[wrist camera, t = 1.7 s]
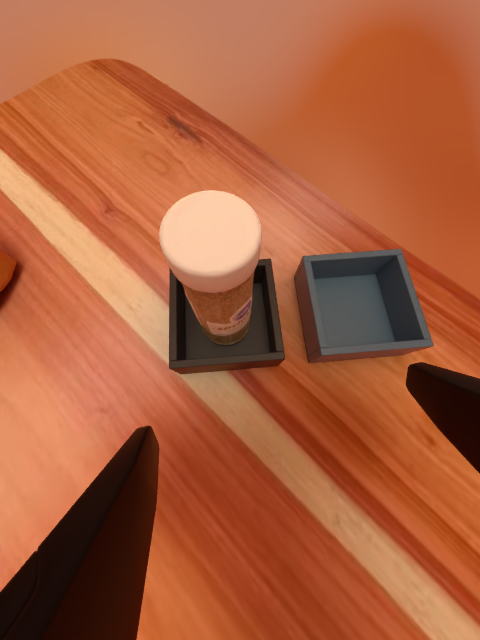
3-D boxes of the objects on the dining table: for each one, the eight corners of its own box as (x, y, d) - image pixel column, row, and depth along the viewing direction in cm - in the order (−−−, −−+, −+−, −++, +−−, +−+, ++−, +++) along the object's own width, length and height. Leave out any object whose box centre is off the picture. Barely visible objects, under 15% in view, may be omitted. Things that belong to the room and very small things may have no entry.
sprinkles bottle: (236, 354, 22) (233, 291, 10) (192, 333, 23) (134, 247, 10) (258, 312, 24) (279, 206, 11) (215, 292, 24) (189, 172, 12)
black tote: (278, 365, 22) (285, 359, 19) (180, 374, 22) (168, 368, 19) (266, 278, 25) (271, 258, 22) (179, 285, 25) (169, 265, 21)
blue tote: (403, 355, 23) (434, 346, 19) (308, 363, 22) (321, 355, 19) (378, 270, 25) (401, 248, 22) (293, 276, 25) (302, 255, 22)
